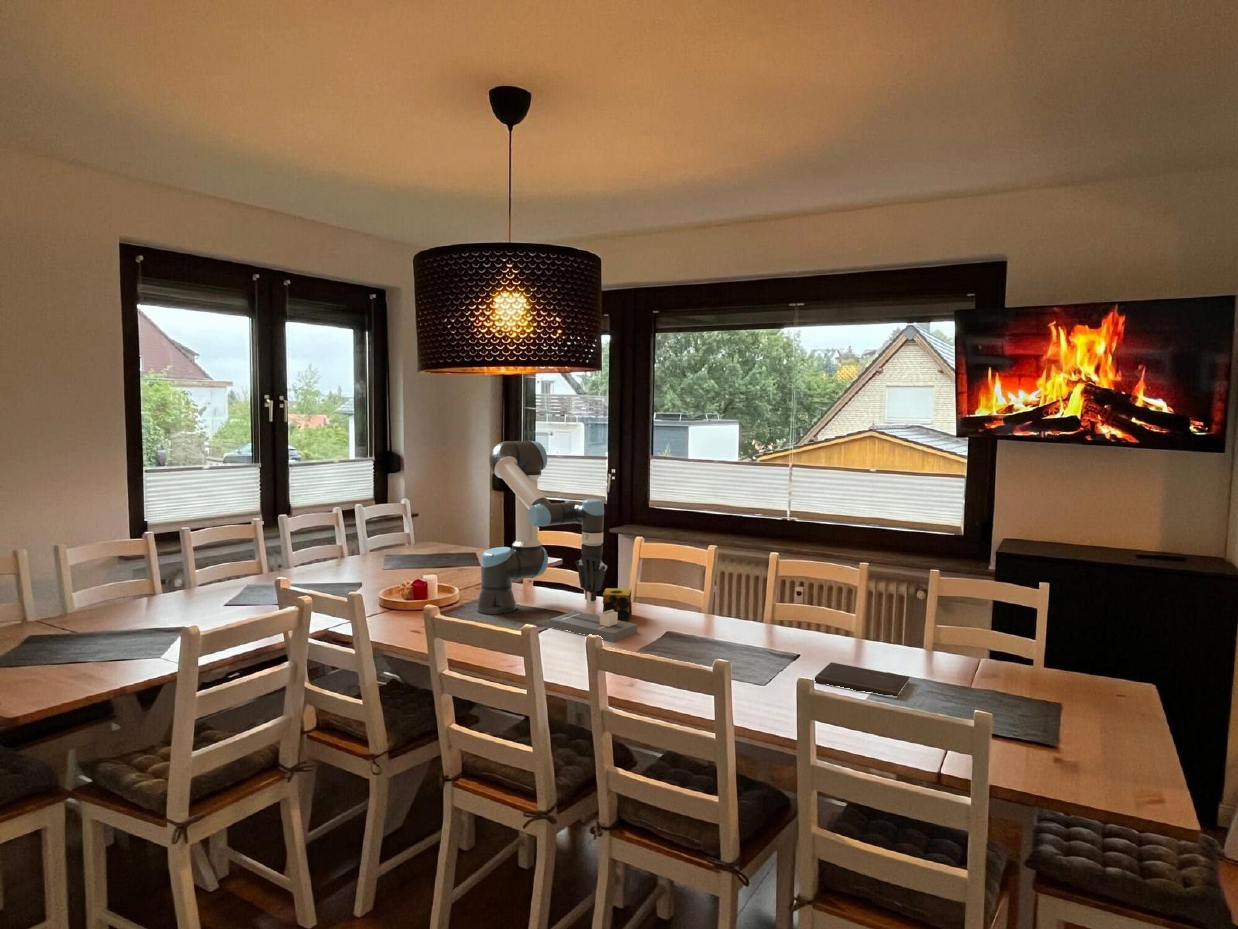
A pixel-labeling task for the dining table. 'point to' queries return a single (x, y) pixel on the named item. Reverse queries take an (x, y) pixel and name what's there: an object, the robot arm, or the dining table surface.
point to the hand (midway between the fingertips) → (590, 609)
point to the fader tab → (608, 618)
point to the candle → (618, 602)
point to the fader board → (593, 626)
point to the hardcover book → (861, 679)
